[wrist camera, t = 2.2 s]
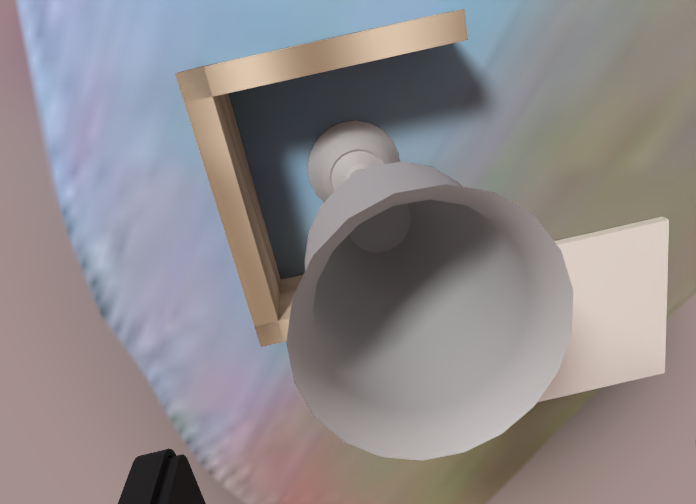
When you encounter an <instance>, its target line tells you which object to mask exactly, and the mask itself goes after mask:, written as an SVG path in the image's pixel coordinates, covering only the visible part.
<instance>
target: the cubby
mask: <svg viewBox="0 0 696 504" xmlns="http://www.w3.org/2000/svg"><path fill="white" fill-rule="evenodd" d="M465 40H468V37H467V28H466V19H465V10H464V9H463V10H457V11H452V12H447V13H441V14H436V15H432V16H427V17H423V18H418V19H414V20H409V21H405V22H400V23H396V24H391V25H387V26H382V27H378V28H373V29H369V30H364V31H360V32H355V33H351V34H346V35H342V36H337V37H333V38H328V39H324V40H319V41H315V42H310V43H306V44H301V45H297V46H292V47H288V48H283V49H279V50H274V51H270V52H265V53H261V54H256V55H252V56H247V57H243V58H238V59H234V60H230V61H225V62H221V63H216V64H212V65H207V66H203V67H198V68H194V69H190V70H187V71H183V72H179V73H175V74H176V77H177V80H178V83H179V87H180V90H181V93H182V96H183V99H184V103H185V106H186V109H187V112H188V115H189V119H190V122H191V125H192V128H193V131H194V134H195V138H196V141H197V144H198V147H199V150H200V154H201V157H202V160H203V163H204V166H205V170H206V173H207V176H208V179H209V182H210V186H211V189H212V192H213V195H214V198H215V201H216V205H217V208H218V211H219V214H220V217H221V221H222V224H223V227H224V230H225V233H226V237H227V240H228V243H229V246H230V249H231V253H232V256H233V259H234V262H235V265H236V268H237V272H238V275H239V278H240V281H241V284H242V288H243V291H244V294H245V297H246V300H247V304H248V307H249V310H250V313H251V316H252V319H253V323H254V326H255V329H256V332H257V335H258V339H259V342H260V345H261V347H262V346H267V345H271V344H275V343H280V342H284V341H287V334H288V327H289V319H290V312H291V304H292V298H293V296H294V294H295V292H296V290H297V288H298V286H299V283H300V281H301V279H302V277H303V275H304V274H303V275H299V276H294V277H290V278H286V279H280V275H279V271H278V268H277V264H276V261H275V257H274V254H273V250H272V247H271V243H270V239H269V236H268V232H267V229H266V225H265V222H264V218H263V214H262V211H261V207H260V204H259V200H258V197H257V193H256V190H255V186H254V182H253V179H252V175H251V172H250V168H249V165H248V161H247V158H246V154H245V150H244V147H243V143H242V140H241V136H240V133H239V129H238V126H237V122H236V118H235V115H234V111H233V108H232V104H231V101H230V97H229V93H232V92H236V91H241V90H245V89H250V88H254V87H259V86H263V85H267V84H272V83H276V82H281V81H285V80H290V79H294V78H299V77H303V76H308V75H312V74H317V73H321V72H326V71H330V70H335V69H339V68H344V67H348V66H353V65H357V64H362V63H366V62H370V61H375V60H379V59H384V58H388V57H393V56H397V55H402V54H406V53H411V52H415V51H420V50H424V49H429V48H433V47H438V46H442V45H447V44H451V43H456V42H460V41H465Z"/></svg>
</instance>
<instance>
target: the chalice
mask: <svg viewBox="0 0 696 504" xmlns="http://www.w3.org/2000/svg"><path fill="white" fill-rule="evenodd" d="M308 173H309V179H310V183H311V185H312V187H313V189H314V191H315V193H316V195H317V196H318V197H319V198H320V199H321V200H322V201H323V202H324V203H323V204H322V205H321V207H320V210H319V212H318V214H317V216H316V218H315V220H314V222H313V224H312V226H311V228H310V231H309V234H308V241H307V248H306V255H305V273H304V275H303V277H302V279H301V281H300V283H299V286H298V288H297V290H296V292H295V294H294V296H293V298H292V304H291V312H290V319H289V327H288V334H287V347H288V353H289V358H290V363H291V368H292V373H293V378H294V383H295V384H296V386H297V388H298V389H299V391H300V393H301V395H302V396H303V398H304V400H305V401H306V403H307V405H308V407H309V408H310V410H311V412H312V413H313V415H314V417H315V418H317V419H318V420H319V421H320V422H321V423H323V424H324V425H325V426H326V427H327V428H328V429H330V430H331V431H332V432H333V433H334V434H335V435H337V436H338V437H339V438H340V439H341V440H343V441H344V442H346V443H348V444H350V445H353V446H355V447H358V448H360V449H363V450H365V451H368V452H370V453H373V454H375V455H378V456H380V457H387V458H399V459H411V460H427V459H433V458H438V457H443V456H448V455H453V454H459V453H464V452H466V451H468V450H470V449H472V448H474V447H476V446H478V445H480V444H482V443H484V442H486V441H488V440H490V439H492V438H495V437H497V436H499V435H501V434H502V433H504V432H505V431H506V430H507V429H508V428H509V427H511V426H512V425H513V424H514V423H515V422H516V421H518V420H519V419H520V418H521V417H522V416H524V415H525V414H526V413H527V412H528V411H529V410H531V409H532V408H533V407H534V406H535V405H536V403H537V402H538V400H539V399H540V397H541V396H542V394H543V393H544V392H545V390H546V389H547V387H548V386H549V384H550V383H551V381H552V380H553V379H554V377H555V376H556V374H557V373H558V371H559V368H560V365H561V362H562V360H563V357H564V354H565V351H566V348H567V345H568V342H569V339H570V336H571V334H572V317H573V288H572V284H571V281H570V278H569V275H568V271H567V268H566V265H565V261H564V258H563V255H562V251H561V250H560V248H559V247H558V246H557V244H556V243H555V242H554V241H553V239H552V238H551V237H550V235H549V234H548V233H547V232H546V230H545V229H544V228H543V226H542V225H541V224H540V222H539V221H538V220H537V219H536V217H535V216H534V215H532V214H530V213H529V212H527V211H525V210H523V209H522V208H520V207H518V206H517V205H515V204H513V203H512V202H510V201H508V200H507V199H505V198H503V197H502V196H500V195H498V194H497V193H495V192H489V191H483V190H478V189H472V188H466V187H463V186H462V185H460V184H459V183H458V182H457V181H455V180H454V179H452V178H450V177H448V176H447V175H445V174H443V173H442V172H440V171H438V170H436V169H435V168H433V167H431V166H425V165H419V164H413V163H408V162H402V161H401V162H399V155H398V152H397V149H396V147H395V145H394V143H393V141H392V139H391V138H390V137H389V136H388V135H387V134H386V133H385V132H384V131H383V130H382V129H380V128H378V127H377V126H375V125H373V124H371V123H368V122H362V121H356V120H354V121H348V122H342V123H339V124H337V125H335V126H333V127H331V128H329V129H327V130H326V131H325V132H324V133H323V134H322V135H321V136H320V137H319V138H318V139H317V140H316V142H315V144H314V146H313V148H312V150H311V152H310V156H309V163H308Z"/></svg>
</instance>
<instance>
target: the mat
mask: <svg viewBox="0 0 696 504" xmlns="http://www.w3.org/2000/svg"><path fill="white" fill-rule="evenodd" d="M668 237H669V220H668V219H666V218H664V217H659V218H654V219H650V220H645V221H641V222H637V223H632V224H628V225H623V226H619V227H615V228H610V229H606V230H601V231H597V232H593V233H588V234H584V235H579V236H575V237H571V238H566V239H562V240H557V241H554V242H555V243H556V244H557V246H558V247H559V248H560V250H561V251H562V255H563V258H564V261H565V265H566V268H567V271H568V275H569V278H570V281H571V284H572V288H573V317H572V334H571V336H570V339H569V342H568V345H567V348H566V351H565V354H564V357H563V360H562V362H561V365H560V368H559V371H558V373H557V374H556V376H555V377H554V379H553V380H552V381H551V383H550V384H549V386H548V387H547V389H546V390H545V392H544V393H543V394H542V396H541V397H540V399H539V400H538V402H541V401H545V400H550V399H554V398H558V397H563V396H567V395H571V394H576V393H580V392H584V391H589V390H593V389H597V388H602V387H606V386H611V385H615V384H619V383H623V382H628V381H632V380H637V379H641V378H645V377H650V376H653V375H658V374H663V373H665V349H666V348H665V346H666V311H667V274H668Z"/></svg>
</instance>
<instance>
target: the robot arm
mask: <svg viewBox="0 0 696 504" xmlns="http://www.w3.org/2000/svg"><path fill="white" fill-rule="evenodd" d="M118 504H205V501H204V499H203V496H202V494H201V491H200V489H199V487H198V484H197V481H196V479H195V477H194V474H193V472H192V469H191V467H190V464H189V462H188V460H187V458H186V456H184V455H178V456H176V454H175V452H174V451H173V450H172V449H166V450H162V451H158V452H154V453H149V454H146V455H141V456H138V457H137V458H135V460H134V462H133V465H132V467H131V470H130V473H129V475H128V478H127V481H126V483H125V486H124V489H123V491H122V494H121V497H120V499H119V503H118Z"/></svg>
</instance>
